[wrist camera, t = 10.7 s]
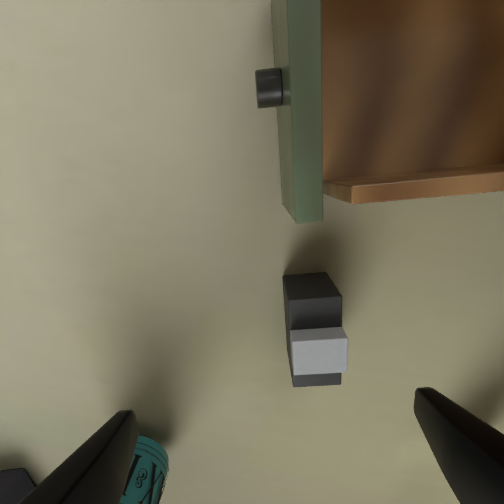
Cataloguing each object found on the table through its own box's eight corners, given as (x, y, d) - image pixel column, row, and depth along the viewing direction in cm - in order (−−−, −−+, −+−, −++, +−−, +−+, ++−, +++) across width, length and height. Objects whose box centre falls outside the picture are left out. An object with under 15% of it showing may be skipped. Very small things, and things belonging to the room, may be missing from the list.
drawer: (264, 205, 18) (268, 226, 11) (247, -20, 14) (237, -180, 8) (551, 179, 17) (733, 186, 10) (613, -70, 13) (956, -302, 7)
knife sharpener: (327, 347, 22) (347, 399, 17) (287, 350, 22) (295, 402, 17) (326, 271, 20) (348, 305, 15) (282, 275, 20) (290, 309, 15)
